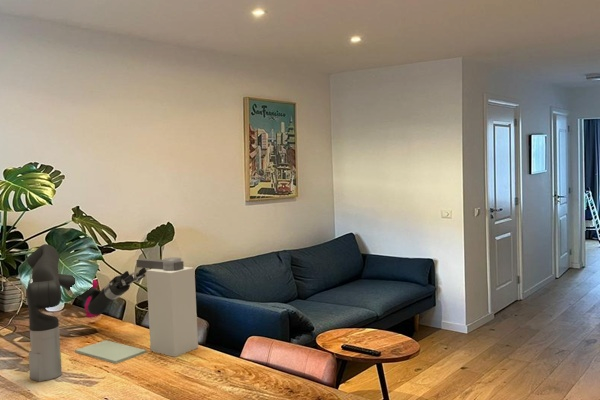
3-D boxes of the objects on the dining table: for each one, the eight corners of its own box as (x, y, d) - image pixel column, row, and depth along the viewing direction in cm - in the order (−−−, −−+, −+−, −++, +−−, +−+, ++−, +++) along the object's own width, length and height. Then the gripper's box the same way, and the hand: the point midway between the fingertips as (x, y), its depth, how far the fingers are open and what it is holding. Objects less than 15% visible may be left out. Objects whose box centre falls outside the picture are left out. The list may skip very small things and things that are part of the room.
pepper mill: (97, 317, 266) (94, 277, 265) (82, 317, 266) (80, 277, 265) (102, 313, 273) (100, 274, 272) (88, 314, 274) (86, 275, 273)
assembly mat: (115, 363, 198) (115, 361, 198) (75, 352, 213) (75, 349, 213) (146, 352, 209) (146, 350, 209) (105, 342, 224) (105, 340, 224)
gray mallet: (173, 271, 205) (172, 260, 204) (133, 267, 216) (133, 257, 216) (186, 268, 211) (185, 258, 210) (147, 264, 222) (146, 255, 222)
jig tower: (175, 357, 203) (170, 273, 201) (150, 351, 211) (146, 270, 209) (198, 347, 213) (194, 267, 211) (174, 342, 221) (170, 265, 219)
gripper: (99, 283, 226) (118, 266, 217) (127, 276, 237) (147, 260, 229) (105, 299, 224) (125, 282, 216) (133, 292, 236) (153, 276, 227)
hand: (136, 271), depth 222 cm, fingers open, 8 cm apart
